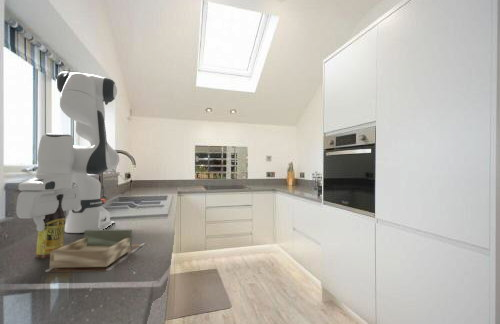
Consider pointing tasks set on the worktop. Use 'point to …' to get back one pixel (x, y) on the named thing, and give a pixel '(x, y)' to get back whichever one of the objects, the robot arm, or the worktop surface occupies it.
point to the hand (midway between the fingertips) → (51, 227)
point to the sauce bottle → (51, 232)
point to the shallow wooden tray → (93, 249)
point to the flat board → (70, 269)
